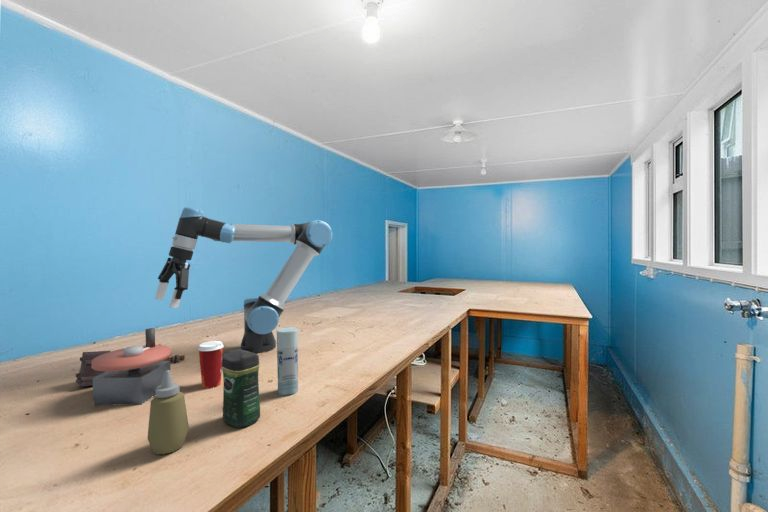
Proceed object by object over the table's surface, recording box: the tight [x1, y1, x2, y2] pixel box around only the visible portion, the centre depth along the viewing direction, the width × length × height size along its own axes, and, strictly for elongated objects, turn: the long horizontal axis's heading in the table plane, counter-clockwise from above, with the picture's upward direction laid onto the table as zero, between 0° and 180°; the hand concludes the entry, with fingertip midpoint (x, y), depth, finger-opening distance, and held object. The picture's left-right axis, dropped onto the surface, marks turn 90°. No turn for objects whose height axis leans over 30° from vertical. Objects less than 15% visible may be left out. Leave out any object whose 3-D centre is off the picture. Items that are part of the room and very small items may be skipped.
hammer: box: [74, 350, 186, 387], centre depth 123 cm, size 7×33×10 cm, turn 145°
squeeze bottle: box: [147, 369, 190, 455], centre depth 77 cm, size 8×8×18 cm
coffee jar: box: [222, 348, 261, 428], centre depth 90 cm, size 10×8×19 cm
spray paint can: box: [276, 326, 299, 397], centre depth 107 cm, size 6×6×20 cm
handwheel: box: [91, 327, 172, 372], centre depth 105 cm, size 20×20×10 cm
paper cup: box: [197, 340, 225, 389], centre depth 112 cm, size 8×8×14 cm
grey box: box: [92, 361, 171, 406], centre depth 106 cm, size 14×14×8 cm
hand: (166, 303), depth 124 cm, fingers open, 13 cm apart
